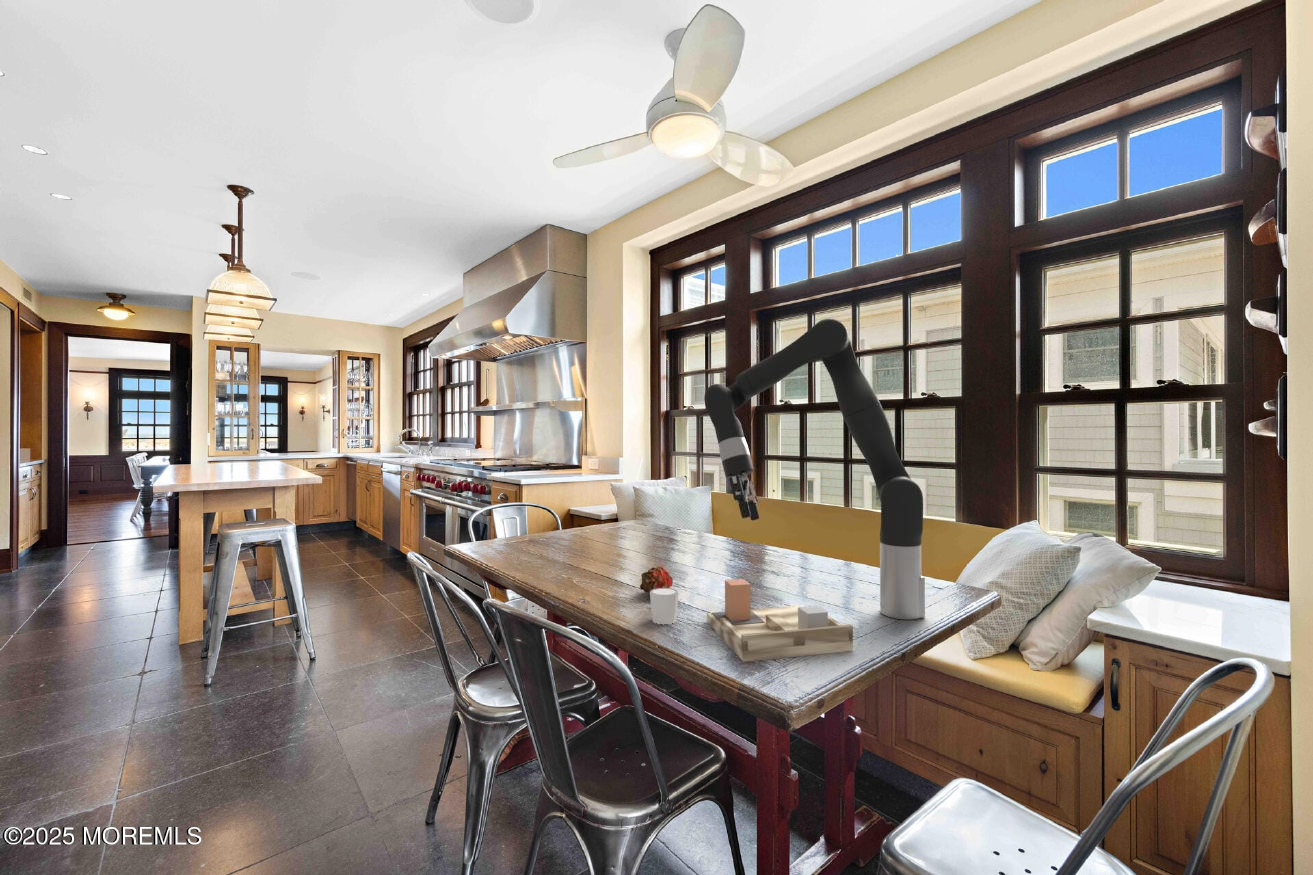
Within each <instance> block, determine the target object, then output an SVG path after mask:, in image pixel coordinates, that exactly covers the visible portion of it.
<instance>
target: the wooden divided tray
mask: <svg viewBox="0 0 1313 875" xmlns="http://www.w3.org/2000/svg"><path fill="white" fill-rule="evenodd" d="M798 607H802V605H793V606H792V605H790V606H779V607H768V608H766V607H765V608H754V609H752V608H751V619H750V620H738V621H731V620H730V619H729V618H728V617H727V616H726V615H725V611H715V612H707V613H706V622H707V624H709V626H711V628H712V629H713V630H714V631H715V632H716V633H717V635H719V636H720V638H721V639H722V640H723V641H724V642H725V643H726V644H727V646H729V648H730V649H731V650H732V651H733V652H734V653H735V654H736V655H737V657H739V658H740V660H741V661H742V662H744V663H745V662H754V661H764V660H772V659H773V660H775V659H784V658H794V657H803V656H814V655H823V654H834V653H843V652H844V653H845V652H846V653H847V652H853V651H854V626H853V625H852V624H845V625H844V624H842V623H841V622H840V621H837V620H836V619H835V618H833V617H831V616H829V615H828V627H818V628H807V629H798Z"/></svg>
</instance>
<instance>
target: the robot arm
mask: <svg viewBox="0 0 1313 875" xmlns="http://www.w3.org/2000/svg"><path fill="white" fill-rule="evenodd" d="M819 359H820V360H821V361H822V363H823V364H824V367H825V368H826V372H828V375H829V376H830V378H831V382H832V385H833V388H834V393H835V396H836V399H837V402H838V403H837V404H838V406H839V409H840V413H841V414H842V417H843V419H844V422H845V425H846V426H847V429H848V430H849V433H850V435H851V437H852V438H853V441H854V442H855V444H856V446H857V448H858V449H859V451H860V452H861V454H862V456H863V457H864V459H865V461H866V463H867V465H868V467H869V469H870V472H871V475H872V478H873V481H874V484H875V486H876V490H877V494H878V498H879V500H880V530H879V531H880V532H879V596H880V597H879V599H880V600H879V601H880V602H879V608H880V609H879V610H880V613H881V614H882V615H883V616H886V617H888V618H892V619H898V620H916V619H921V618H926V579H925V576H923V575H922V536H923V531H924V530H923V529H924V496H923V491H922V489H921V487H920V486H919V484H917V482H915V481H914V480H912V478H911V477H910V475H909V473H908V471H907V470H906V468H905V466H904V464H903V462H902V461H901V459H900V457H899V454H898V452H897V449H896V446H895V442H894V437H893V432H892V429H891V426H890V423H889V421H888V418H887V415H886V413H885V411H884V408H883V406H882V404H881V401H880V400H879V398H878V396H877V394H876V392H875V391H874V389H873V387H872V385H871V383H870V382H869V381H868V379H867V377H866V375H865V373H863V370H862V369H861V367H860V365H859V363H858V361H857V360H858V359H857V357H856V355H855V352H854V349H853V344H852V342H851V338H850V334H849V330H848V328H847V327H846V326H845V324H844V323H843V322H842V321H840V320H838V319H836V318H830V317H829V318H823V319H821V320H819V321H818V322H816V323H815V324H813V326H812V327H810V328H809V329H808V330H807V331H806V332H804V333H803V334H802V335H801V336H799V337H798V338H796V340H794V341H793V342H791V343H789V344H788V345H787V346H786V347H784V348H782V349H781V350H779V351H777V352H775V353H773V354H772V355H770V356H768V357H766V358H764V359H762V360H761V361H759V362H758V363H755V364H754V365H752V366H751V367H748V368H747V369H745V370H744V371H742V372H739V374H738V375H737V376H736V378H735V381H734V382H733V383H732V384H731V385H730V386H725V385H723V384H720V383H714V384H712V385H711V384H710V386H708V387H707V389H706V391H704V392H705V393H704V405H705V409H706V411H707V414H708V416H709V418H710V421H711V423H712V426H713V427H714V431H715V436H716V441H717V444H718V449H719V450H718V452H719V456H720V460H721V465H722V468H723V472H724V476H725V478H726V479H728V480H729V483H730V487H731V491H732V496H733V500H734V501H735V502H736V503H737V505H738V508H739V512H740V516H741V518H742V519H747V518H750V521H753V522H754V521H758V520H760V514H759V510H758V507H757V505H758V503H759V500H758V497H757V493H756V490H755V485H754V482H753V481H752V480H750V479H749V477H748V476H749V475H751V474H753V473H754V472H755V468H754V465H753V461H752V457H751V452H750V450H749V445H748V443H747V441H746V438H745V435H744V434H745V433H744V431H743V427H742V424H741V422H740V420H739V418H738V416H736V414H735V411H737V410H739V409H740V408H741V407H742V406H744V405H745V404H746V403H748V401H750V400H751V398H753V397H755V396H757V395H759V394H760V393H761V394H762V392H764V391H766V390H767V389H770V388H771V387H773V386H774V385H776V384H777V383H779V382H780V381H782V380H784V379H785V378H786V377H787V376H788V375H790V374H791V373H793V372H794V371H795V370H797V369H800V368H801V367H803V366H805V365H807V364H809V363H811V362H815V361H816V360H819Z"/></svg>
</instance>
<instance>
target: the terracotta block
mask: <svg viewBox="0 0 1313 875" xmlns="http://www.w3.org/2000/svg"><path fill="white" fill-rule="evenodd" d="M751 610H752V608H751V583H749V582H748V581H746V580H745V579H744V578H742V579H741V578H739V579H725V580H724V612H725V615H726V616H727V617H728V618H729V619H730V620H731V621H738V620H750V619H751Z"/></svg>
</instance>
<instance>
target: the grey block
mask: <svg viewBox="0 0 1313 875" xmlns="http://www.w3.org/2000/svg"><path fill="white" fill-rule="evenodd" d="M828 616H829V612H828V611H827V610H825V609H823V608H822V607H821V606H819V605H810V606H808V605H807V606H801V607H798V629H807V628H818V627H828Z"/></svg>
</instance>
